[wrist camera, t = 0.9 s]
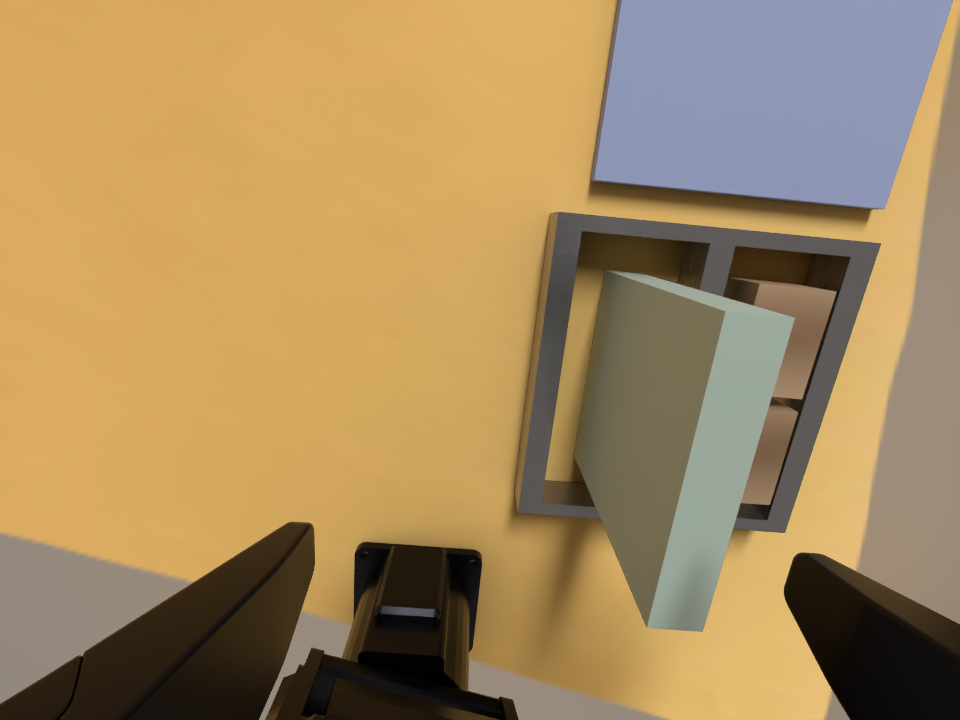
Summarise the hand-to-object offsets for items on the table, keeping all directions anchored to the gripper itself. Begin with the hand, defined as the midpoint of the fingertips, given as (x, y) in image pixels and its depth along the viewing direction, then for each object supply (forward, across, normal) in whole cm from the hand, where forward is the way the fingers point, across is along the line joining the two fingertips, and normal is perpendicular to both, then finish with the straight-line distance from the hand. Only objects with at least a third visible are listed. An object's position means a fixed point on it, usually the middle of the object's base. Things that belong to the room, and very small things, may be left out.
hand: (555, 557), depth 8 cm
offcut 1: (+13, -10, -2) cm, 17 cm away
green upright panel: (+13, -5, 0) cm, 14 cm away
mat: (+13, -9, -12) cm, 20 cm away
